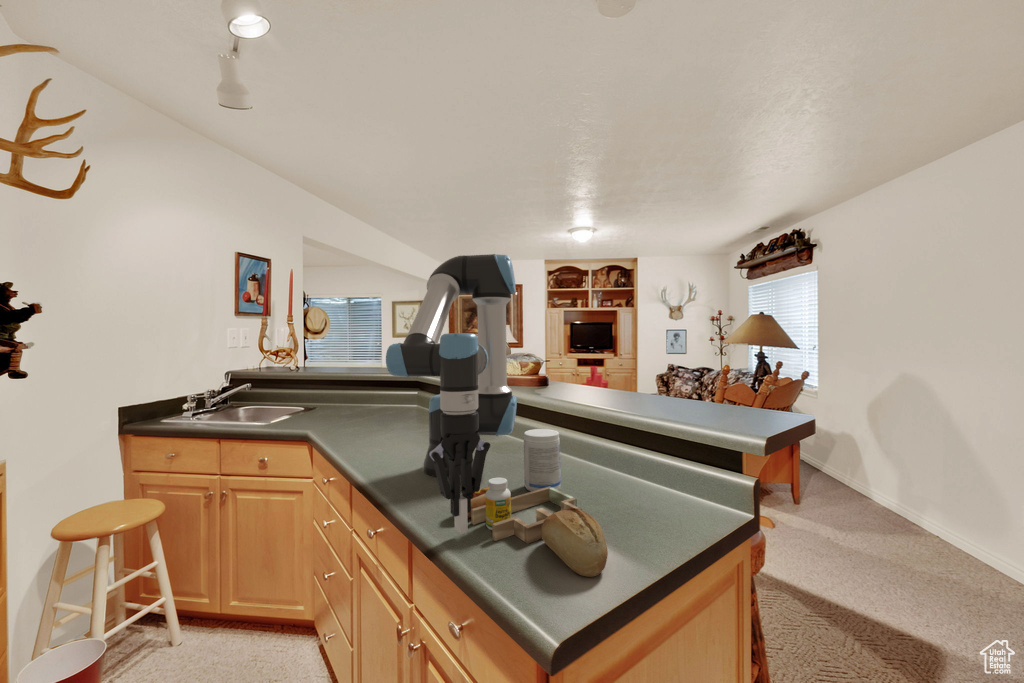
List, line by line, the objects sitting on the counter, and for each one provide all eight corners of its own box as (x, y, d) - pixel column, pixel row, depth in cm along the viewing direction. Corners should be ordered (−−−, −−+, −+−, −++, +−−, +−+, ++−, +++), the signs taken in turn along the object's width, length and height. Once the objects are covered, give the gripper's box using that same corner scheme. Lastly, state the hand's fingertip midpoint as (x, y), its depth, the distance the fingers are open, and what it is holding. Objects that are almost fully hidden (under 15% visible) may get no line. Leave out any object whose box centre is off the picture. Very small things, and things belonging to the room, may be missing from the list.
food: (495, 498, 98) (495, 478, 98) (511, 505, 94) (510, 484, 94) (449, 516, 88) (448, 494, 88) (464, 524, 84) (464, 501, 84)
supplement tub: (568, 489, 103) (567, 433, 103) (539, 498, 98) (538, 438, 98) (545, 479, 111) (544, 426, 111) (517, 486, 106) (516, 431, 106)
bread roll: (570, 533, 80) (569, 494, 80) (623, 571, 67) (622, 524, 67) (529, 545, 75) (528, 504, 75) (577, 589, 62) (577, 538, 62)
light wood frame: (471, 523, 85) (471, 509, 85) (549, 498, 97) (549, 486, 97) (508, 551, 73) (508, 535, 73) (591, 519, 86) (591, 505, 86)
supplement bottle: (502, 517, 87) (501, 474, 87) (516, 527, 83) (515, 481, 83) (481, 524, 84) (480, 479, 84) (494, 534, 79) (494, 487, 79)
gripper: (437, 418, 71) (438, 548, 71) (497, 410, 79) (498, 528, 79) (421, 412, 77) (422, 532, 78) (478, 405, 85) (479, 514, 85)
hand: (461, 530), depth 78 cm, fingers closed
